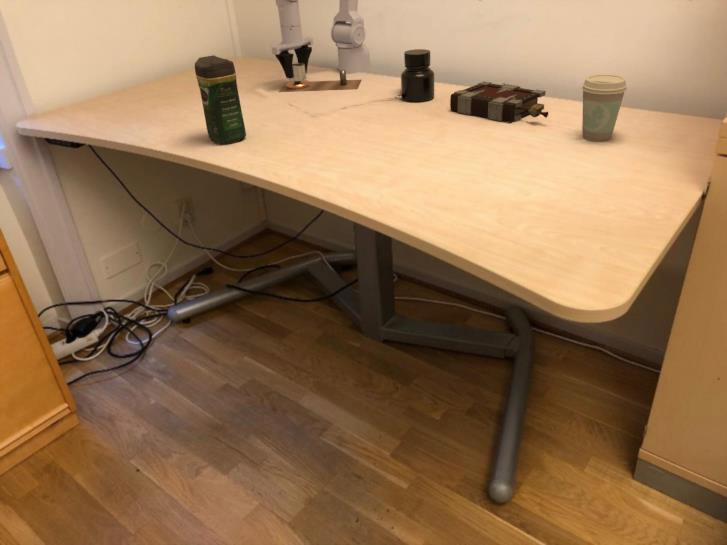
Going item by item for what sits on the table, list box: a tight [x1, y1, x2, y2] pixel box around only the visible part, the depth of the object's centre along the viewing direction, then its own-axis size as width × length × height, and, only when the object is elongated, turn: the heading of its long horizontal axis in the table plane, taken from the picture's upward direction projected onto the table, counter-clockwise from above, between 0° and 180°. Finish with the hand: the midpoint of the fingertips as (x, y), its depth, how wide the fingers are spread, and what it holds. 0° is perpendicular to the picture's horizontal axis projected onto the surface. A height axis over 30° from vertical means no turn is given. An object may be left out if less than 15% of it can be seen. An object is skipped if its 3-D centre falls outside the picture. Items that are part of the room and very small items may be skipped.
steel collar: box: [288, 62, 307, 82], centre depth 169 cm, size 5×5×4 cm
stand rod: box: [339, 70, 347, 86], centre depth 169 cm, size 2×2×4 cm
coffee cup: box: [581, 74, 628, 142], centre depth 121 cm, size 9×8×12 cm
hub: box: [285, 79, 310, 90], centre depth 170 cm, size 7×7×5 cm
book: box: [449, 81, 549, 123], centre depth 141 cm, size 15×25×5 cm, turn 45°
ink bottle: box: [400, 48, 435, 103], centre depth 155 cm, size 10×9×12 cm
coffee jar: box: [194, 54, 247, 144], centre depth 134 cm, size 10×8×19 cm
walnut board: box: [277, 79, 362, 93], centre depth 171 cm, size 23×11×2 cm, turn 84°
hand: (296, 75), depth 170 cm, fingers closed on steel collar, 5 cm apart
